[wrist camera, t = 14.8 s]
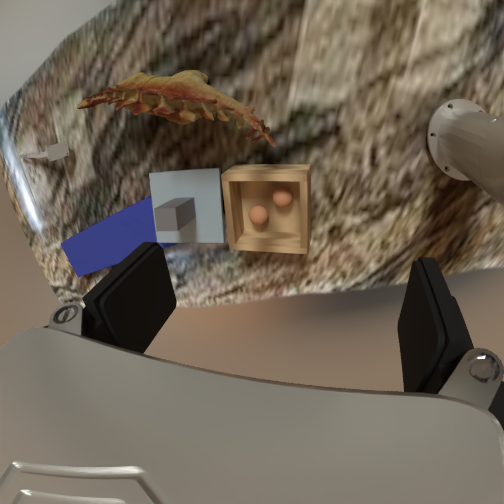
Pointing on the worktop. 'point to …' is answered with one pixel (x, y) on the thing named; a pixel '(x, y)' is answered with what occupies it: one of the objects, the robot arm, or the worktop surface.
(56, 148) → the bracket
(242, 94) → the worktop surface
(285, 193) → the rust ball
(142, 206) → the long blue plank
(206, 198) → the lid
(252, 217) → the rust ball
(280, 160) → the worktop surface
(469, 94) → the worktop surface
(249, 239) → the pine box
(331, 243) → the worktop surface
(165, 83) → the toy
